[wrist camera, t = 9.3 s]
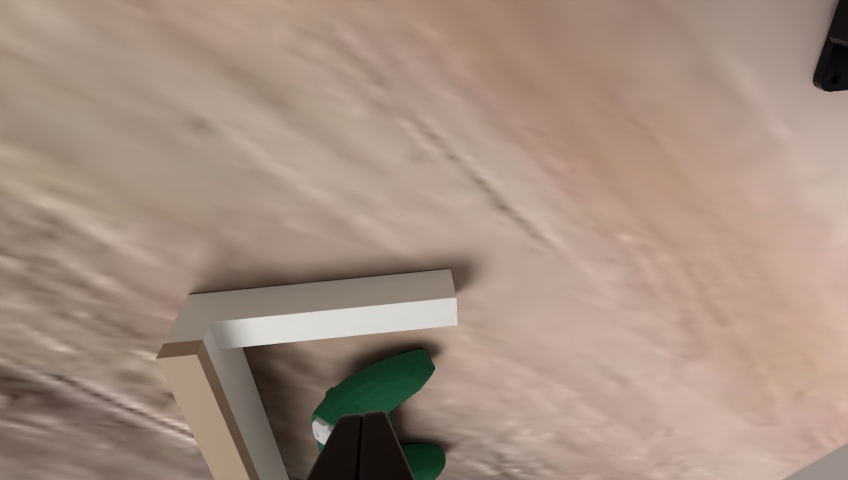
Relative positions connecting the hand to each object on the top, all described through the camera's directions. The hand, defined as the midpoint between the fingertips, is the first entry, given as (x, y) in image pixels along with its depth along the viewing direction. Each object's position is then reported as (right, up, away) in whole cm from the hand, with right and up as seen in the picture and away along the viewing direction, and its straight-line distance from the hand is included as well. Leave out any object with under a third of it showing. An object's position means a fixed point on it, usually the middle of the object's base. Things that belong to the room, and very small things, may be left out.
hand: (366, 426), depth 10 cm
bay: (-2, -6, +18) cm, 19 cm away
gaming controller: (-1, -5, +18) cm, 19 cm away
